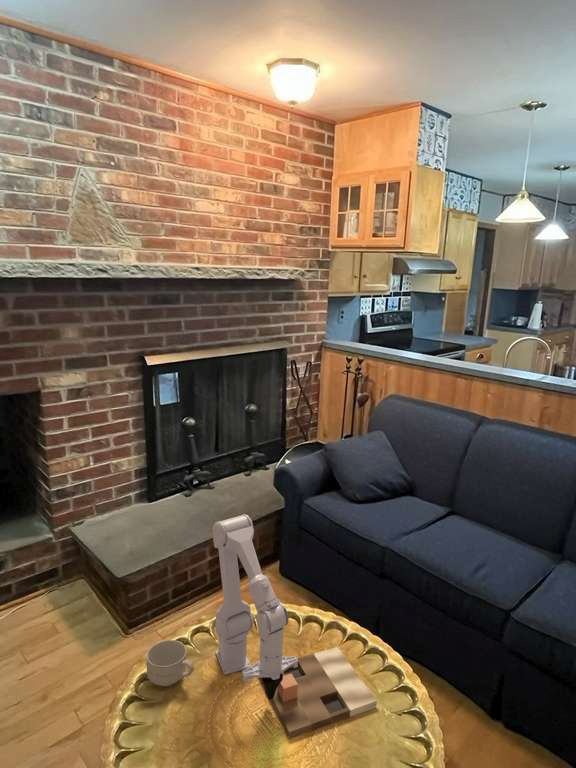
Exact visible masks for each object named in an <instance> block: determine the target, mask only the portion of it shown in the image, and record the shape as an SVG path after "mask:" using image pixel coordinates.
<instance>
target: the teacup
mask: <svg viewBox="0 0 576 768" xmlns="http://www.w3.org/2000/svg"><path fill="white" fill-rule="evenodd" d="M187 651H188V650H187V646H186V645H185V644H184V643H182V642H181V641H179V640H174V639H166V640H161V641H159V642H158V641H157V642H156V643H155V644H153V645H151V646H150V647H149V648H148V649H147V651H146V653H145V658H146V674H147V678H148V679H149V681H150V682H151V683H152V684H154V685H156V686H159V687H169V686H173V685H174V684H176V683H177V682H178V681H179V680H183V679H184V678H187V677H189V676H191V675H192V674H193V672H194V670H195V667H194V663H193V662H192V661H190V660H189V659H187ZM186 666H187V668H188V670H189V671H186ZM185 671H186V672H185Z"/></svg>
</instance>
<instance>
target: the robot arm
mask: <svg viewBox="0 0 576 768" xmlns="http://www.w3.org/2000/svg"><path fill="white" fill-rule="evenodd" d="M211 528H212V540H213V546H214V548H215V549H218V556H219V557H218V558H219V565H220V566H219V567H220V576H221V585H222V594H223V595H222V596H223V597H222V598H223V603H222V604H221V605H220V606H219V608H217V610H216V611H215V622H214V628H215V632H216V635H217V637H218V650H215V655H216V657H217V660H218V663H219V665H220V668H221V670H222V673H223V675H224V676H225V675H229V674H232V673H237V672H240V671H242V672H241V673H242V674H241V675H242V677H241V678H242V680H243V682H244V683H245V684H246V683H249V682H250V681H249V680H252V679H255V678H257V679H258V678H259V679H260V678H261V679H262V681H263V683H262V685H263V684H264V686H263V687H265V688H264V691H265V696H266V698H267V700H268V701H271V699H273V698H274V695H275V692H276V689H277V687H278V685H279V684H280V683H281V681H282V680H283V675H282V672H284V671H285V670H287V669H288V668H289V667H294V668H296V667H298V660H297V657H296V655H292V656H291V655H290V656H283V645H284V628H285V627H286V626H288V625H289V614H288V610H287V608H286V606H285V605H284V603H282V602H281V600H280V598H278V597H277V595H276V593H275V591H274V588H273V586H272V584H271V581H270V579H269V577H268V576H266V575H264V574H263V572H262V569H261V565H260V562H259V560H258V556H257V553H256V550H255V547H254V543H253V539H254V535H255V530H254V524H253V521H252V519H251V517H250V516H249V515H248V514H244V513H243V514H242V515H238V516H234V517H230V518H228V519H224V520H220V521H216V522H215V523H214V524H213V525H212V527H211ZM238 558H239V560H238ZM238 561H240V563H241V564H242V567H243V568H244V570H245V573H246V575H247V577H248V580H249V582H248V584H247V585H248V586H247V588H248V591H249V593H250V596H251V599H252V602H253V604H254V607H255V609H256V612H257V615H256V616H255V620H256V621H254V617H253V616H254V615H253V613H252V609H251V605H249V603H247V602H246V601H245V600H242V590H241V589H242V587H241V582H240V581H241V579H240V573H239V572H240V571H239V570H240V569H239V562H238ZM254 622H256V624H257V628H258V629H257V631H258V632H257V633H258V636H259V637H260V639H259V642H260V643H259V660H258V662H256V663H254V664H253V665H252V664H251V662H250V661H249V658H248V656H247V646H248V645H247V643H248V642H247V641H248V639H247V638H248V636H249V634H250V631H251V630H253V627H254ZM261 679H260V680H261ZM262 681H261V682H262Z"/></svg>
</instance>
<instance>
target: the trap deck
mask: <svg viewBox="0 0 576 768" xmlns="http://www.w3.org/2000/svg"><path fill="white" fill-rule="evenodd" d="M296 658H297V657H296ZM297 660H298V667H296V668H294V667H289V668H288V669H287V670H285V671H284V672H282V675H283V676H284V675H288V674H291V673H292V675H293V677H294V678H295V680H296V682H297V684H298V691H297V698H294V699H291V700H288V701H285V702H283V701H282V699H281V697H280V695H279V693H278V691H277V689H276V692H275V695H274V698H273V699H271V700H270V702H271V704H272V706H273V708H274V710H275V711H274V712H276V714H277V717H278V719H279V721H280V724H281V725H283V726H282V727H283V730H284V732H285V734H286V736H287V738H288V739H289V740H290V739H293V738H297V737H299V736H301V735H305V734H306V733H309V732H312V731H316V730H317V729H320V728H324V727H326V726H329V725H331V724H334V723H338V722H341V721H342V720H345V719H348V718H351V717H355V716H356V715H359V714H362V713H364V712H367V711H370V710H373V709H375V708H377V704H378V700H377V699H376V698H375V696H374V695H373V693H372V692H371V691H370V689H369V687H367V685H366V684H365V683H364V681H363V679H361V677H360V676H359V674H358V673H357V672H356V670H355V668H353V666H352V665H351V663H350V662H349V661H348V659H347V658H346V656H345V655H344V654H343V652H342V651H341V650H340V648H339V647H338V646H334V647H331V648H329V649H324V650H320V651H318V652H315V653H312V654H308V655H304V656H301V657H298V658H297ZM259 679H260V681H261V683H262V685H264V684H263V681H262V679H261V678H259Z"/></svg>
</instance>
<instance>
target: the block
mask: <svg viewBox="0 0 576 768" xmlns="http://www.w3.org/2000/svg"><path fill="white" fill-rule="evenodd" d="M277 691H278V693H279V695H280V697H281V699H282V701H283V702H285V701H288V700H291V699H294V698H297V691H298V684H297V682H296V680H295V678H294V677H293V675H292V673H291V674H288V675H284V676H283V680H282V681H281V683H280V684H279V685H278V687H277Z"/></svg>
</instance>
